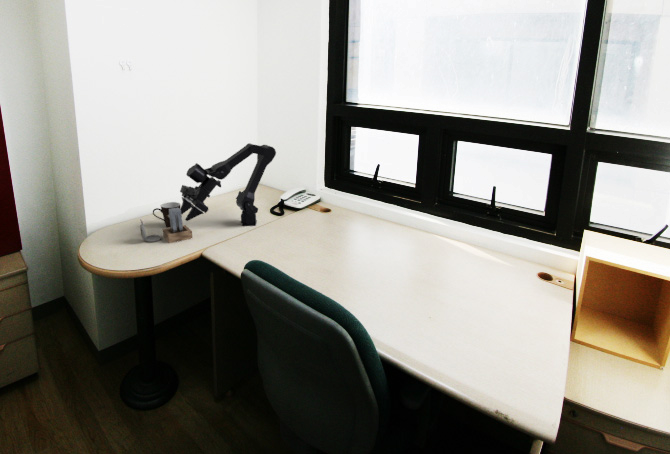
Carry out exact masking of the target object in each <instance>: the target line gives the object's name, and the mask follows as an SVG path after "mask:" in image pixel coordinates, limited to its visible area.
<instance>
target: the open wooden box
mask: <svg viewBox="0 0 670 454" xmlns="http://www.w3.org/2000/svg"><path fill="white" fill-rule="evenodd" d="M182 225H183V232H178V233H173V234H171V228H170V227H165V228H162V236H163V238H164V239H165V240H166V242H168V243H169V244H172V243H177V241H178V242H182V240H183V241H187V239H188V240H192V239H191V238H194V237H193V231H192V230H191V228H189V227H188V226H187V224H182Z"/></svg>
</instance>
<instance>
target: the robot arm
mask: <svg viewBox="0 0 670 454" xmlns="http://www.w3.org/2000/svg"><path fill="white" fill-rule="evenodd" d="M253 154H256V160H257V161H256V164H255V166H254V168H253V171H252V172H251V175H250V177H249V179H248V181H247V184H246V186H245V188H244V190H242V191H241V190H240V191H239V192H238V193H237V194H238V195H237V196H236V197H235V199H236V200H235V203H236V205H237V207H239V209H240V210H241V214H240V223H241V226H247V227H248V226H251V227H252V226H253V227H254V226H256V225H257V222H258V220H257V214H258V211H259V208H258V207H257V206H256V205H254V203H255V197H256V196H255V195H256V194H255V193H256V191H257V189H258V186H259V184H260V182H261V179H262V178H263V175H264V173H265V170H266V168H267V167H268V165H269V164H270V163H272V162H273V160H274V158H275V157H276V154H277V151H276V149H275V148H274V147H273V146H270V145H268V144H262V145H259V144H254V143H247V144H246V145H245V146H244V147H242V148H241V149H239V150H238V151H236V152H235V153H233V154H232V155H231V156H230V157H228V158H227V159H225V160H222V161H220V162H217V163H215V164H213V165H211V167H208V168H203V167H202V166H201V164H199V163H197V162H196V163H195V164H194V165H192V166H191V167H189V168H188V170H187V171H186V176H187V177H188V178H190V179H191V180H192V181H194V182H195V183H196V184H199V185H198V186H197V185H196V186H194V187H193V186H187V185H185V184H182V185H181V188H180V191H179V192H180V193H181V200H182V204H181V205H180V210H181V216H182V215H183V214H184V213H186V212H187V211H188V210H189V212H188V214H187V215H186V217H185V219H184V221H186V222H189V221H190V220H192V219H194V218H196V217H199V216H201V215H204V213H205V214H207V212H208V211H209V206H207V205H206V204H205V201H206V199H207V198H210V197H211V195H210V194H211V193H212V192H213V191H214V189H215V188H216V186H217V187H219V188H222V183H221V182H222V181H220V180H224V179H226V178H227V177H228V176H229V174H231V172H232V170H233V168H235V167H236V166H238V165H239V164H240V163H242V162H243V161H245V160H246V159H247V158H248V157H250V156H251V155H253ZM215 178H216V179H215Z"/></svg>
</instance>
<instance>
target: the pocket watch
mask: <svg viewBox="0 0 670 454" xmlns="http://www.w3.org/2000/svg"><path fill="white" fill-rule="evenodd" d="M139 219H140V218H139ZM139 225H140V226H139V228H140V235H141V239H142V240H144V241H145V242H147V243H153V242H157V241H160V240H161V238H162V237H161V235H159V234H151V235H147V234H146V230H145V229H146V228H145V225H144V221H142V219H140V224H139Z"/></svg>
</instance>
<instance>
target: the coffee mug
mask: <svg viewBox="0 0 670 454" xmlns="http://www.w3.org/2000/svg"><path fill="white" fill-rule="evenodd" d="M177 207H178V208H179V209H181V203H180V202H176V201H170V202H169V201H168V202H165V203H162V204H160V208H154V209H153V210H152V215H154V217H155V218H157V219H159V220H161V221H163V222H164V226H165V228H171V225H170V216H169V209H171V208H177ZM157 210H158V211H160V212H161V214H162V217H163V218H162V217H159V216H158V215H156V214H155V211H157ZM175 218H176V215H175ZM176 227H177V224H176Z"/></svg>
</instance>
